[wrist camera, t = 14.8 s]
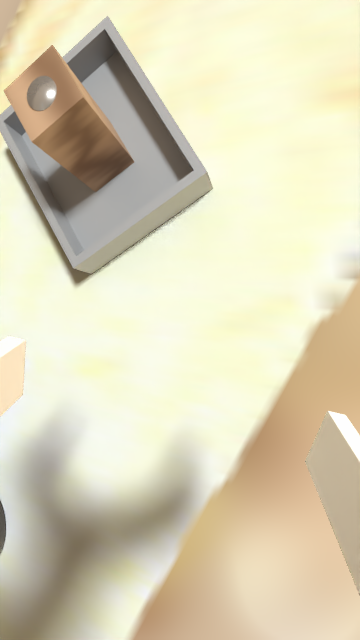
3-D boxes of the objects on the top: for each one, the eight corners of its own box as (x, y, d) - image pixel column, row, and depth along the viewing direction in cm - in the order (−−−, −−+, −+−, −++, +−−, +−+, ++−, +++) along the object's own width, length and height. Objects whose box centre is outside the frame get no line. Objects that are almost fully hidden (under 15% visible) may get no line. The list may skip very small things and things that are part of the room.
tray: (91, 273, 39) (73, 268, 36) (18, 138, 42) (-6, 120, 39) (213, 188, 36) (207, 171, 32) (123, 46, 39) (107, 15, 35)
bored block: (95, 192, 38) (30, 141, 28) (73, 153, 39) (2, 90, 28) (134, 161, 37) (82, 96, 26) (111, 123, 38) (51, 43, 27)
